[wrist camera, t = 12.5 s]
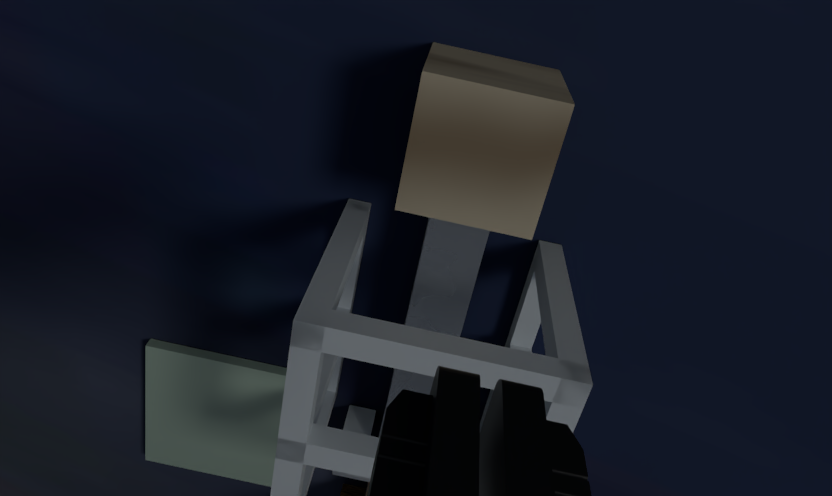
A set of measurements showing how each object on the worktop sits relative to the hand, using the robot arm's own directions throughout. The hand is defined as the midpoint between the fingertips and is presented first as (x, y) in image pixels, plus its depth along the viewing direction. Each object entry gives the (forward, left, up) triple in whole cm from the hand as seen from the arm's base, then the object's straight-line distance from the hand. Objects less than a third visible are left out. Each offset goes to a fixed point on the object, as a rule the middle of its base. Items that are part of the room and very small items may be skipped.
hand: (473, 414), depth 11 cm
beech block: (0, 0, -17) cm, 17 cm away
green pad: (-19, +10, -17) cm, 27 cm away
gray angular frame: (-10, 0, -17) cm, 20 cm away
